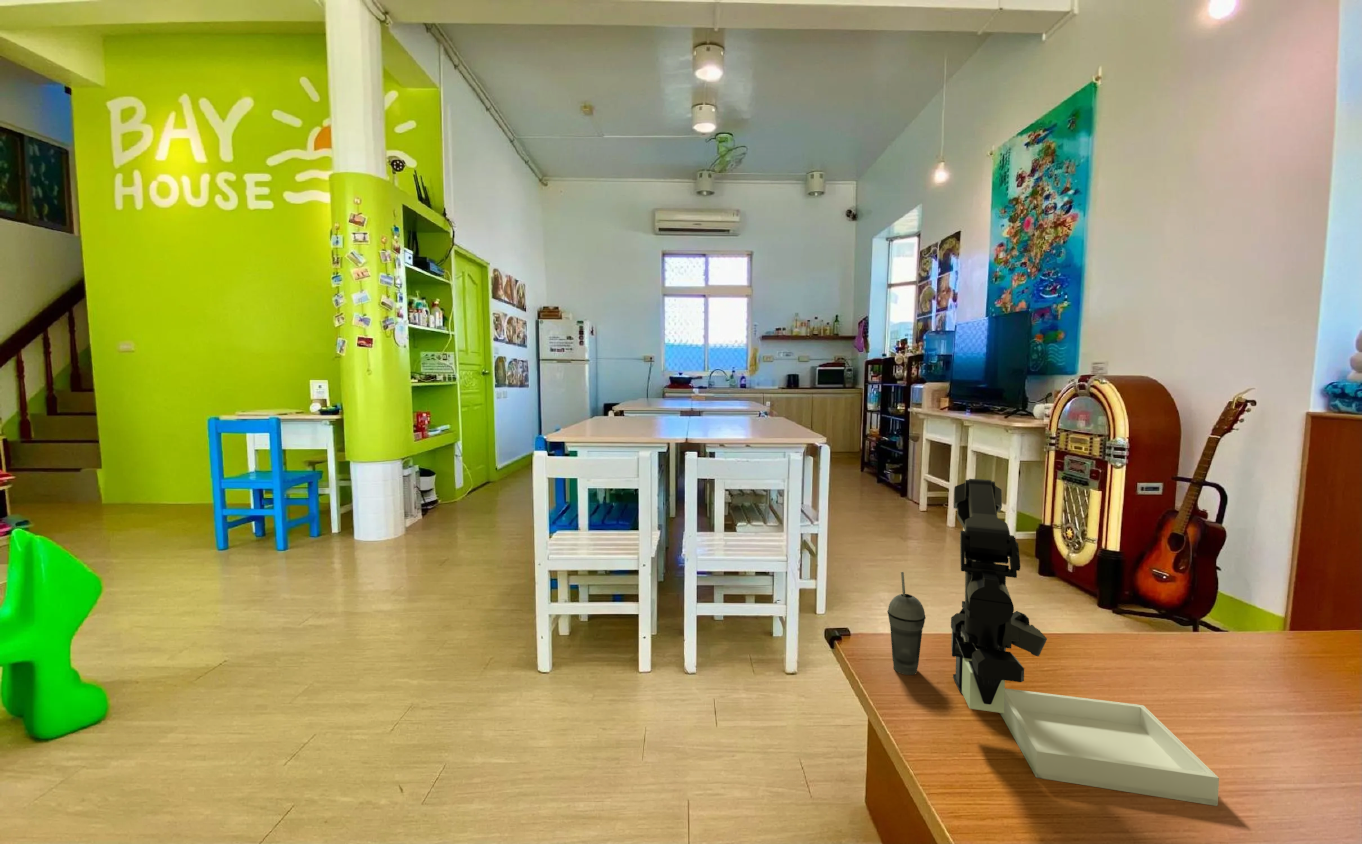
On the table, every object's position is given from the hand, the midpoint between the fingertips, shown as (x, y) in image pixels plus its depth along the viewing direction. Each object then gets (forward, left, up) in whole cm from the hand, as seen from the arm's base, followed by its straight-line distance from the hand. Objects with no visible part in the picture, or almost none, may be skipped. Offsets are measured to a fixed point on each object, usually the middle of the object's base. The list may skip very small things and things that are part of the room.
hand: (982, 694), depth 89 cm
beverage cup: (-9, +20, -7) cm, 23 cm away
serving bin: (+16, 0, -7) cm, 17 cm away
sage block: (0, 0, -1) cm, 1 cm away
